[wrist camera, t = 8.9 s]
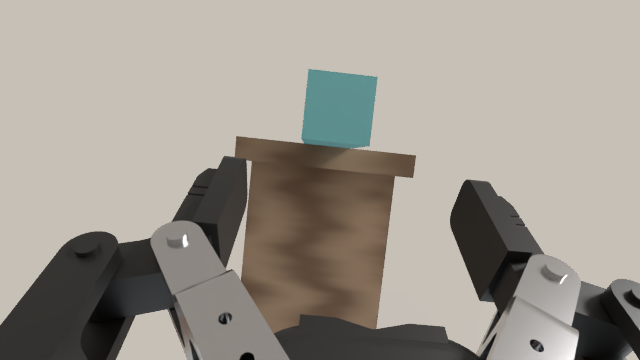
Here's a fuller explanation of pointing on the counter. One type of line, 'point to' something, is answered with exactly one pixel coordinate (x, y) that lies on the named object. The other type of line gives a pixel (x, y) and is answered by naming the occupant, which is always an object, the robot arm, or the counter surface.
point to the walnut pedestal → (317, 229)
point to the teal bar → (338, 109)
